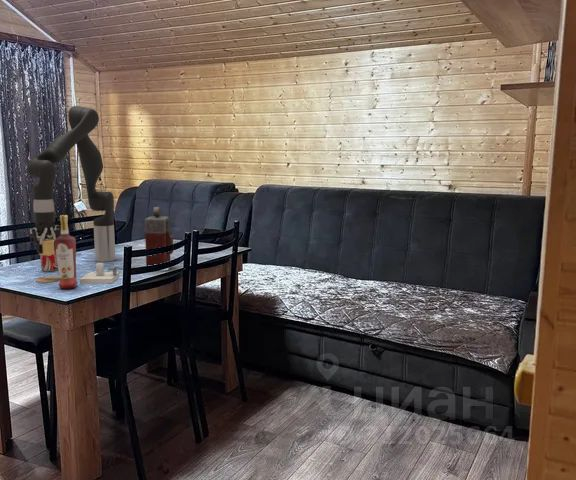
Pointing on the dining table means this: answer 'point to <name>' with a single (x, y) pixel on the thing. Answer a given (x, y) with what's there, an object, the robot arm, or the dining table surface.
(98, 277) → the bayonet post
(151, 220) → the glass decanter
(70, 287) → the liquor
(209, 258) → the dining table surface
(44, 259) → the soda can
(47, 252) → the cap
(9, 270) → the dining table surface
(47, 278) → the coaster
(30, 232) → the robot arm
